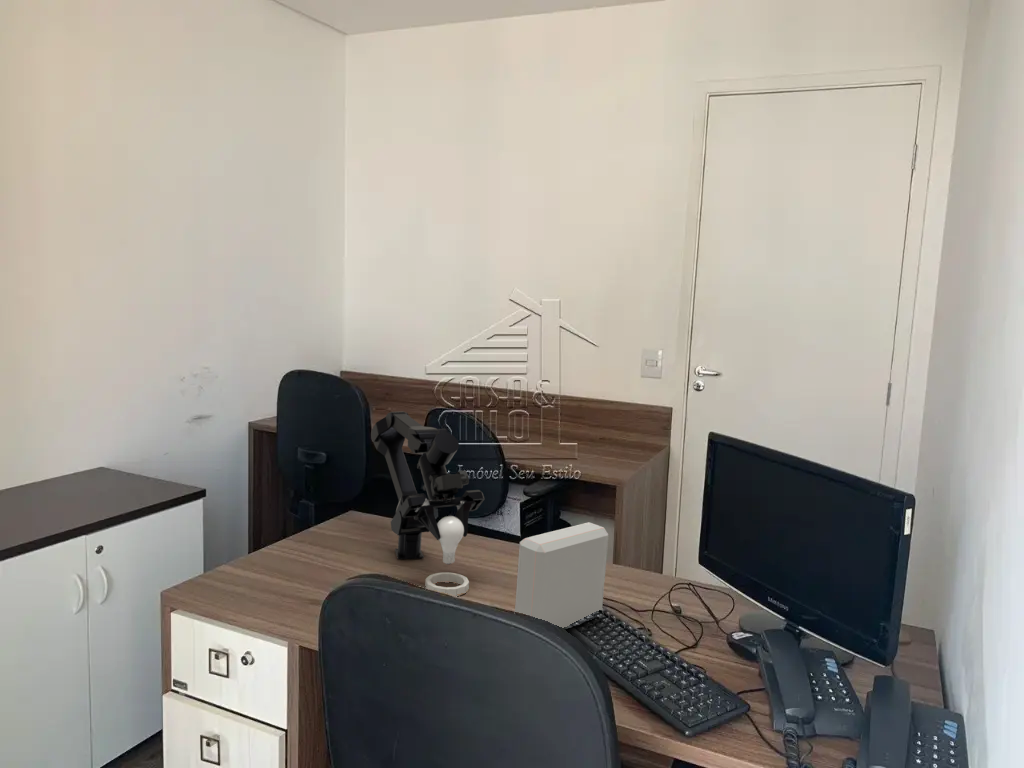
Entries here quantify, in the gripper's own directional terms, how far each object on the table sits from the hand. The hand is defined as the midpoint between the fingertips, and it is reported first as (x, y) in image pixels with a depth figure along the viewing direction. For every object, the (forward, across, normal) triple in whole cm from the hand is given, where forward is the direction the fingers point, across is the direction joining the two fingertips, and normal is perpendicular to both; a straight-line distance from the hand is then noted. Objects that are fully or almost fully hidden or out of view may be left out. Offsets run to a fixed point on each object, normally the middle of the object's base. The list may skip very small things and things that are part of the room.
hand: (452, 537), depth 167 cm
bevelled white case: (+26, +13, -8) cm, 30 cm away
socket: (+8, 0, +10) cm, 13 cm away
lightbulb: (+4, 0, +6) cm, 7 cm away
